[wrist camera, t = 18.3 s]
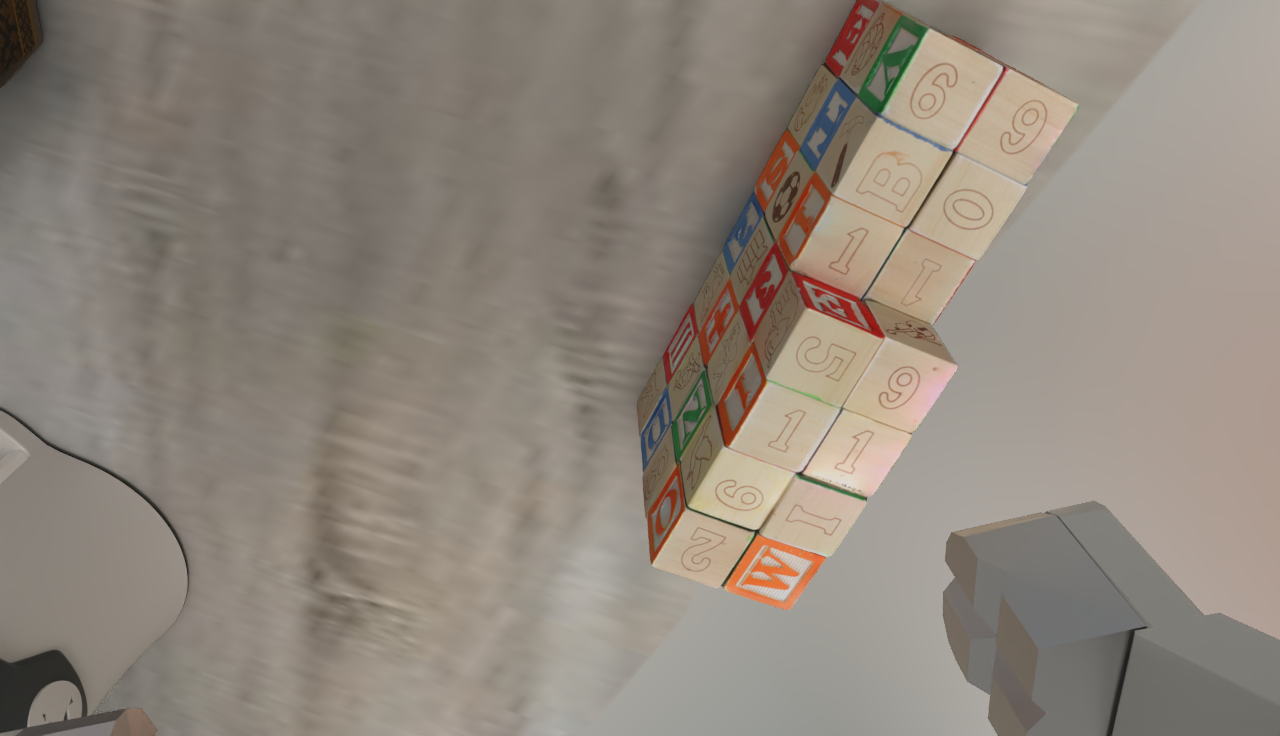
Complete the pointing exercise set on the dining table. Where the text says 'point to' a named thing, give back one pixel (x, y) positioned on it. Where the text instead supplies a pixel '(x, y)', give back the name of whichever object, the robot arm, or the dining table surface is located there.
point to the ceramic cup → (17, 35)
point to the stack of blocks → (834, 303)
